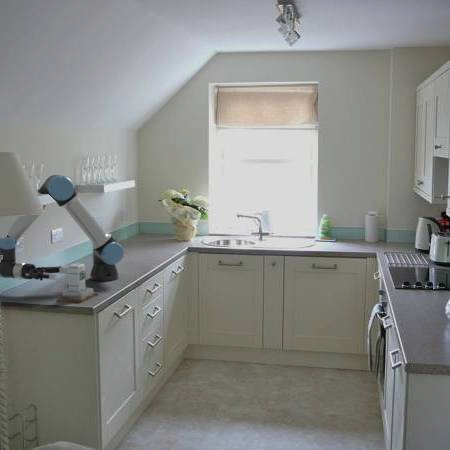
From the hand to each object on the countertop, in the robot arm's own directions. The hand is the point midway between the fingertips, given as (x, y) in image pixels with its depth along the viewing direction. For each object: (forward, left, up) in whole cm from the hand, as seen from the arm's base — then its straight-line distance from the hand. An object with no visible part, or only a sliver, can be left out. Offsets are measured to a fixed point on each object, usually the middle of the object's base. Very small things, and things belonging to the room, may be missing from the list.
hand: (63, 273), depth 301 cm
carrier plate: (0, +7, -11) cm, 13 cm away
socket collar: (0, +7, -10) cm, 12 cm away
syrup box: (0, +7, -10) cm, 12 cm away
